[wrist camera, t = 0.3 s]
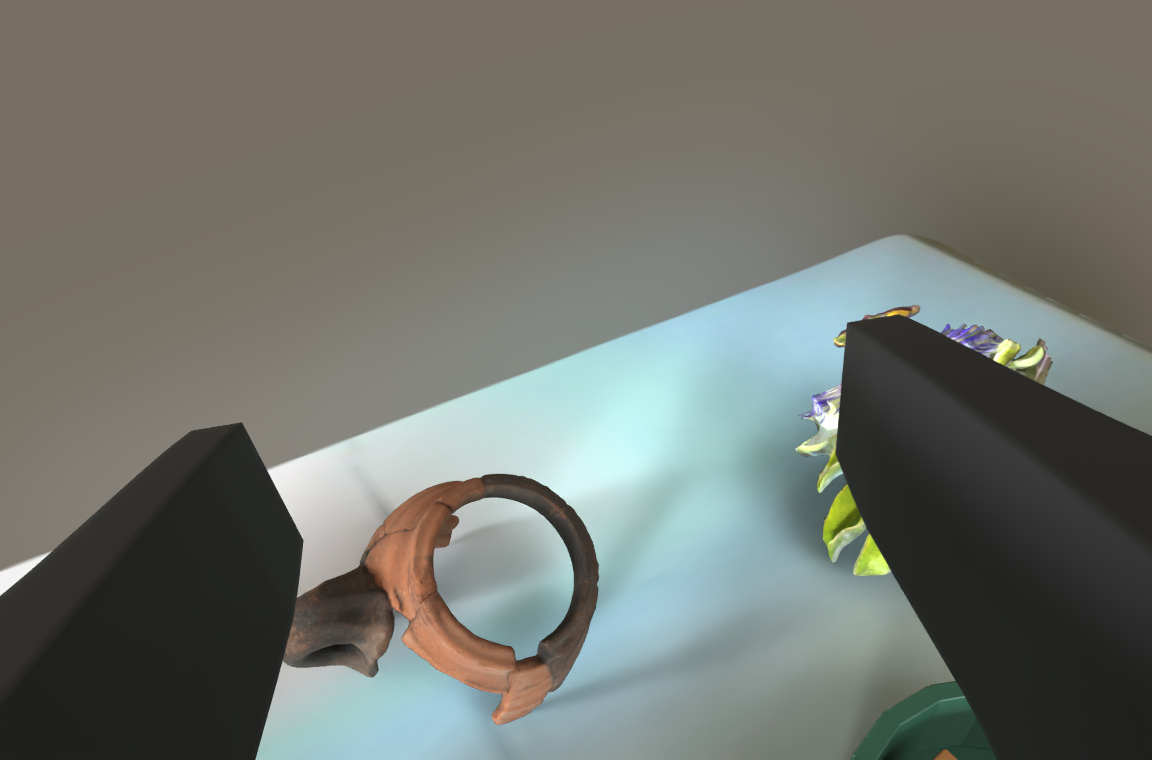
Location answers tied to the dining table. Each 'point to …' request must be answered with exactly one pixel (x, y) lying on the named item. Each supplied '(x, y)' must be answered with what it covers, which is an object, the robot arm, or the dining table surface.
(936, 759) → the stick
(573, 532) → the brown hollow shell
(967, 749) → the tin
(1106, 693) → the robot arm
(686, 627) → the dining table surface
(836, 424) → the passion flower
